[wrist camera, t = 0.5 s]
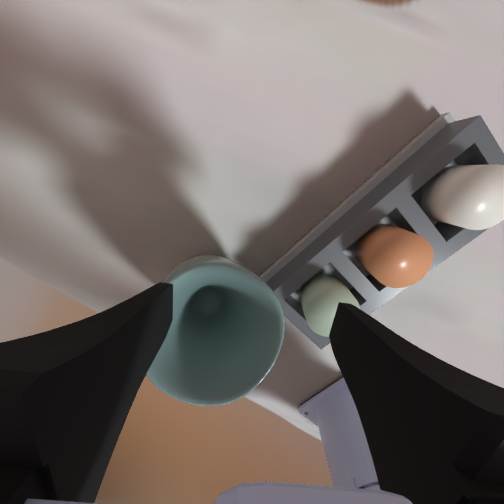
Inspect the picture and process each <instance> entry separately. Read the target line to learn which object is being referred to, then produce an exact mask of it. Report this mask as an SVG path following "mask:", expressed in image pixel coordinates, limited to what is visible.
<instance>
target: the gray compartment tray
mask: <svg viewBox="0 0 504 504" xmlns="http://www.w3.org/2000/svg"><path fill="white" fill-rule="evenodd" d="M492 164H499V165H504V153H503V152H502V150H501V148H500V147H499V145H498V144H497V142H496V140H495V139H494V137H493V135H492V134H491V132H490V130H489V129H488V127H487V125H486V124H485V122H484V120H483V119H482V117H481V116H476V117H472V118H467V119H463V120H459V121H455V120H454V119H453V117H452V116H451V114H450V113H449V112H448V113H445V114H442V115H440V116H439V117H438V118H437V119H436V120H434V121H433V122H432V123H431V124H430V125H429V126H428V127H427V128H425V129H424V130H423V131H422V132H421V133H420V134H419V135H418V136H416V137H415V138H414V139H413V140H412V141H411V142H410V143H409V144H407V145H406V146H405V147H404V148H403V149H402V150H401V151H400V152H399V153H397V154H396V155H395V156H394V157H393V158H392V159H391V160H390V161H388V162H387V163H386V164H385V165H384V166H383V167H382V168H381V169H379V170H378V171H377V172H376V173H375V174H374V175H373V176H372V177H370V178H369V179H368V180H367V181H366V182H365V183H364V184H363V185H361V186H360V187H359V188H358V189H357V190H356V191H355V192H354V193H352V194H351V195H350V196H349V197H348V198H347V199H346V200H345V201H343V202H342V203H341V204H340V205H339V206H338V207H337V208H336V209H334V210H333V211H332V212H331V213H330V214H329V215H328V216H327V217H325V218H324V219H323V220H322V221H321V222H320V223H319V224H318V225H316V226H315V227H314V228H313V229H312V230H311V231H310V232H309V233H307V234H306V235H305V236H304V237H303V238H302V239H301V240H300V241H298V242H297V243H296V244H295V245H294V246H293V247H292V248H291V249H290V250H288V251H287V252H286V253H285V254H284V255H283V256H282V257H281V258H279V259H278V260H277V261H276V262H275V263H274V264H273V265H272V266H270V267H269V268H268V269H267V270H266V271H265V272H264V273H263V274H261V275H260V276H259V277H260V278H262V279H263V280H264V281H265V282H266V283H267V284H268V285H269V287H270V288H271V289H272V290H273V291H274V293H275V295H276V296H277V298H278V299H279V301H280V304H281V307H282V309H283V312H284V316H285V317H286V318H287V319H288V320H289V321H291V322H292V323H293V324H294V325H295V326H296V327H297V328H298V329H299V330H300V331H302V332H303V333H304V334H305V335H306V336H307V337H308V338H309V339H310V340H311V341H313V342H314V343H315V344H316V345H317V346H318V347H319V348H320V349H322V348H324V347H325V346H326V345H328V344H329V343H331V342H330V338H329V337H325V336H321V335H319V334H317V333H315V332H314V331H312V330H311V328H310V327H309V326H308V324H307V321H306V318H305V315H304V312H303V309H302V306H301V303H300V300H299V291H300V288H301V286H302V285H303V284H304V283H305V282H307V281H308V280H309V279H310V278H312V277H313V276H314V275H317V274H321V273H327V274H332V275H335V276H336V277H338V278H339V279H340V280H341V281H342V282H343V283H344V285H345V286H346V287H347V288H348V290H349V291H350V292H351V293H352V295H353V296H354V297H355V299H356V300H357V301H358V303H359V306H360V309H361V310H362V311H364V312H365V313H367V314H368V315H369V314H371V313H372V312H374V311H375V310H376V309H378V308H379V307H380V306H382V305H383V304H385V303H386V302H387V301H389V300H390V299H391V298H393V297H394V296H396V295H397V294H398V293H400V292H401V291H403V290H404V289H405V288H407V287H408V286H407V287H403V288H391V287H387V286H385V285H383V284H382V283H380V282H379V281H378V280H377V279H376V278H375V277H374V276H372V275H371V274H370V273H369V272H368V271H367V270H366V269H365V268H364V267H362V266H361V265H360V264H359V262H358V260H357V258H356V254H355V249H356V244H357V242H358V240H359V238H360V237H361V236H362V235H364V234H365V233H366V232H367V231H368V230H370V229H371V228H372V227H373V226H375V225H378V224H392V225H395V226H397V227H400V228H402V229H405V230H407V231H410V232H412V233H415V234H417V235H420V236H422V237H424V238H425V239H426V240H427V241H428V242H429V243H430V245H431V247H432V250H433V262H432V265H431V267H430V269H429V271H430V270H432V269H433V268H434V267H436V266H437V265H438V264H440V263H441V262H443V261H444V260H445V259H447V258H448V257H450V256H451V255H452V254H454V253H455V252H456V251H458V250H459V249H461V248H462V247H463V246H465V245H466V244H468V243H469V242H470V241H472V240H473V239H474V238H476V237H477V236H479V235H480V234H481V233H483V232H484V231H486V230H487V229H488V228H487V229H483V230H470V229H466V228H462V227H459V226H455V225H452V224H448V223H444V222H441V221H437V220H434V219H431V218H430V217H428V216H427V215H426V214H425V213H424V211H423V209H422V206H421V194H422V191H423V188H424V186H425V184H426V183H427V182H428V181H429V180H430V179H431V178H432V177H434V176H435V175H436V174H437V173H438V172H440V171H441V170H442V169H443V168H445V167H449V166H455V165H492ZM429 271H428V272H429Z"/></svg>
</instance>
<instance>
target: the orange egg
mask: <svg viewBox="0 0 504 504" xmlns="http://www.w3.org/2000/svg"><path fill="white" fill-rule="evenodd" d="M355 254H356V258H357V260H358V262H359V264H360V265H361V266H362V267H364V268H365V269H366V270H367V271H368V272H369V273H370V274H371V275H372V276H374V277H375V278H376V279H377V280H378V281H379V282H380V283H382V284H383V285H385V286H387V287H391V288H403V287H407V286H410V285H413V284H415V283H416V282H418V281H419V280H421V279H422V278H423V277H424V276H425V275H426V273H427V272H428V271H429V269H430V267H431V265H432V262H433V250H432V247H431V245H430V243H429V242H428V241H427V240H426V239H425V238H424V237H422V236H420V235H417V234H415V233H412V232H410V231H407V230H405V229H402V228H400V227H397V226H395V225H392V224H378V225H375V226H373V227H372V228H371V229H370V230H368V231H367V232H366V233H365V234H364V235H362V236H361V237H360V238H359V240H358V242H357V244H356V249H355Z"/></svg>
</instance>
